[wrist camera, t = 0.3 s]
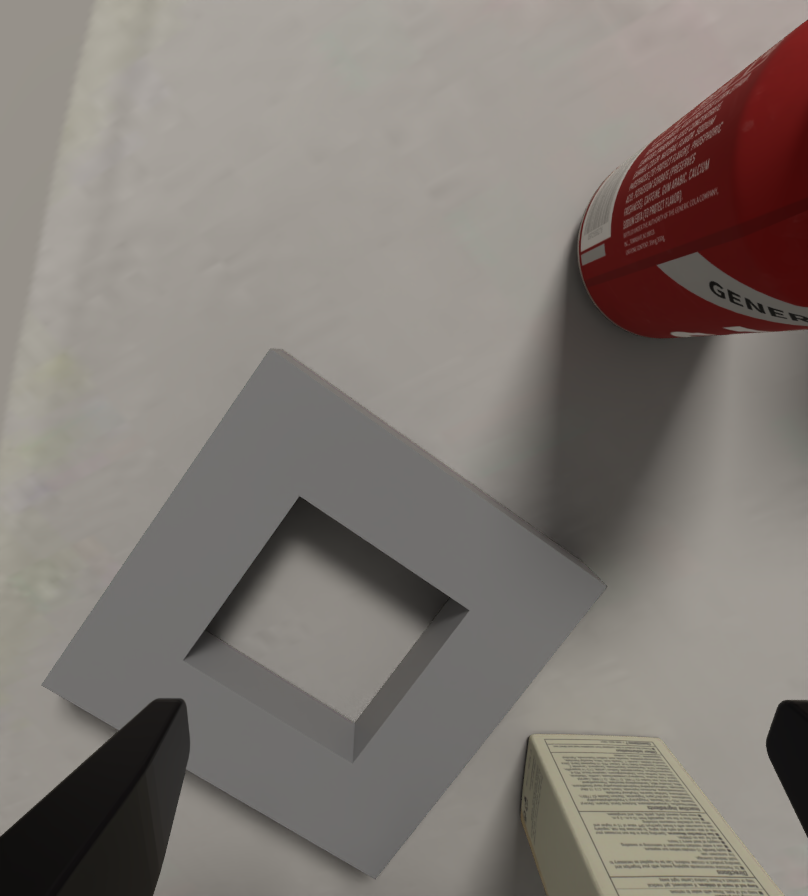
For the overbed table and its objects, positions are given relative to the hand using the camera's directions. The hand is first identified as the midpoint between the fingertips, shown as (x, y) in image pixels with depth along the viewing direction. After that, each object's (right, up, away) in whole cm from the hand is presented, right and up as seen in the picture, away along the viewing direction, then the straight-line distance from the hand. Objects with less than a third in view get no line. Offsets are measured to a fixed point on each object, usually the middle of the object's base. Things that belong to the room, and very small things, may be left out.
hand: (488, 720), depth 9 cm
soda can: (+8, +12, +14) cm, 20 cm away
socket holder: (-4, -2, +15) cm, 16 cm away
